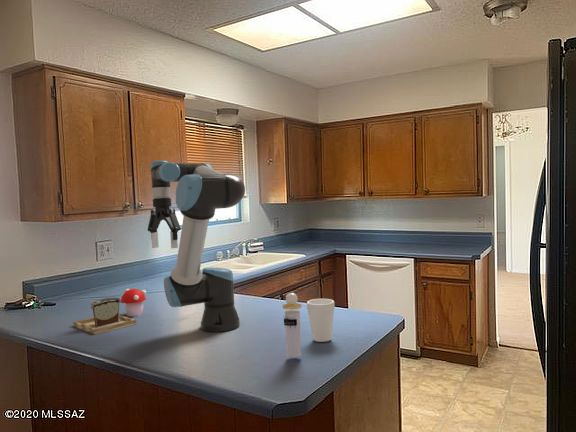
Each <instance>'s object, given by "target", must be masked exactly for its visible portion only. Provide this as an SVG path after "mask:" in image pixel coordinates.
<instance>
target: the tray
mask: <svg viewBox="0 0 576 432" xmlns="http://www.w3.org/2000/svg"><path fill="white" fill-rule="evenodd" d="M72 323H73V327H75V328H77V329H80V330H82V331H85V332H88V333H90V334H93V335H99V334H103V333H106V332H110V331H115V330H119V329H122V328H126V327H131V326H135V325H137V320H136V319H134V318H131V317H129V316H124V315H121V314H119V322H117V323H114V324H110V325H106V326H102V327H98V328H97V327H95V321H94V316H93V317H90V318H84V319H81V320H75V321H72Z"/></svg>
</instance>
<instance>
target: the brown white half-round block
mask: <svg viewBox="0 0 576 432" xmlns="http://www.w3.org/2000/svg"><path fill="white" fill-rule="evenodd" d="M120 303H121V298H120V297H103V298H99V299H96V300H95V299H94V300H93V301H91V304H90V309H92V314H93V317H94V321H95V327H97V328H98V327H102V326H106V325H110V324H114V323H117V322H119V315H120ZM121 304H122V303H121Z"/></svg>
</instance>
